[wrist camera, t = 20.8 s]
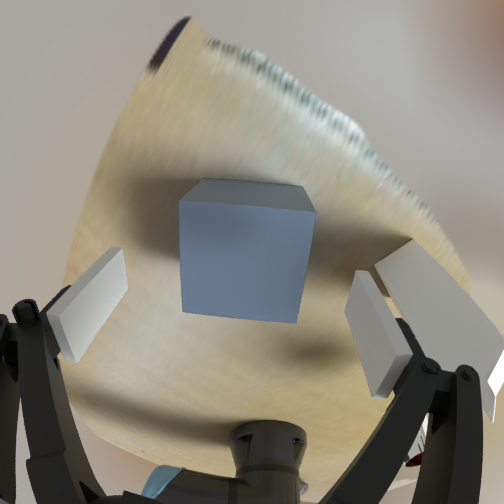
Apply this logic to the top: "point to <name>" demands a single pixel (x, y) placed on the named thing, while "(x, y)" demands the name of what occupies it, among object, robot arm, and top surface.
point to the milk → (444, 318)
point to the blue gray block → (244, 249)
